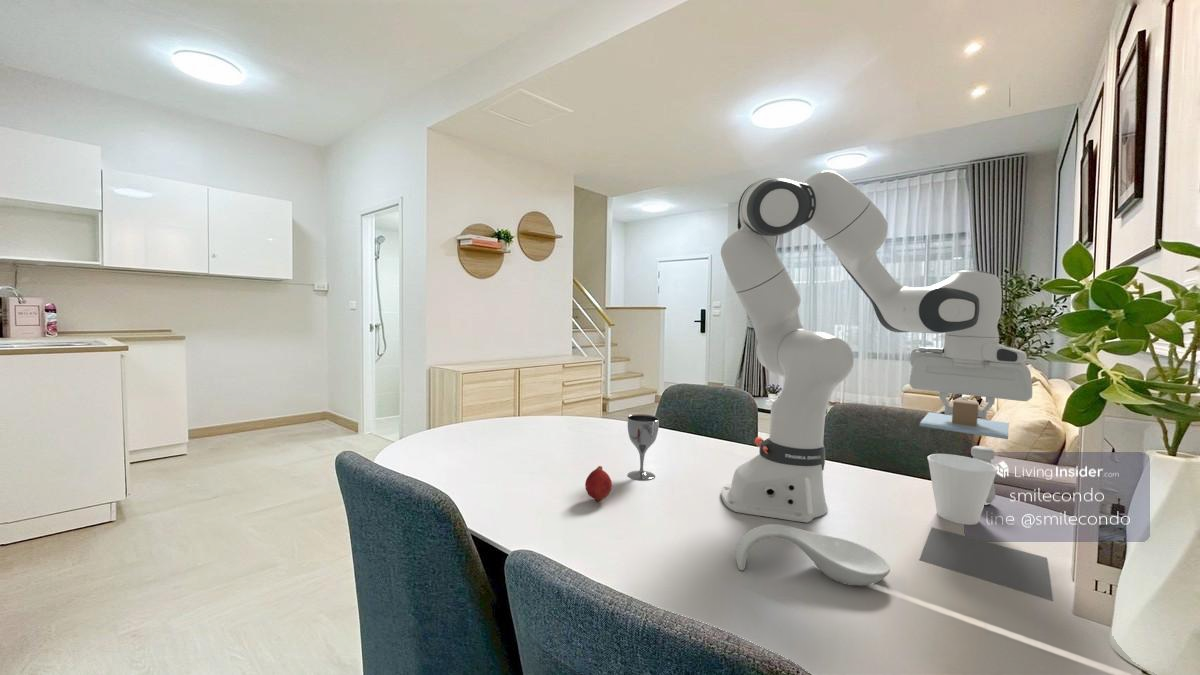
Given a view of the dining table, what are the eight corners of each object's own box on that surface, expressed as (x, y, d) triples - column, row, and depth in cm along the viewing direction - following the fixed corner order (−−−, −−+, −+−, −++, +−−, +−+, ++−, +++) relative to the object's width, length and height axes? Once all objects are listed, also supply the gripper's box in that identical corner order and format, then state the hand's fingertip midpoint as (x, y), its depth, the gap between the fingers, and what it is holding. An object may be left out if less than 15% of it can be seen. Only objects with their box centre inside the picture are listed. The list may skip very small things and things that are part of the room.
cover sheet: (1007, 439, 91) (1010, 413, 90) (919, 425, 100) (921, 402, 99) (1008, 425, 101) (1010, 402, 101) (928, 414, 110) (930, 393, 110)
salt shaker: (1000, 508, 108) (1005, 452, 107) (971, 506, 109) (976, 449, 108) (985, 498, 114) (989, 444, 113) (958, 496, 115) (962, 442, 114)
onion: (587, 507, 103) (588, 470, 102) (583, 496, 109) (583, 462, 108) (613, 505, 104) (614, 469, 104) (608, 495, 110) (609, 461, 109)
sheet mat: (1052, 604, 73) (1053, 600, 73) (918, 563, 84) (919, 559, 84) (1046, 561, 85) (1047, 557, 85) (931, 530, 97) (931, 527, 96)
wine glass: (621, 471, 126) (623, 414, 125) (650, 469, 128) (652, 413, 127) (631, 482, 118) (633, 422, 117) (661, 479, 120) (663, 421, 119)
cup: (910, 511, 105) (913, 455, 105) (949, 505, 109) (953, 451, 108) (965, 536, 94) (970, 474, 93) (1007, 528, 98) (1012, 469, 97)
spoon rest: (869, 560, 85) (872, 521, 84) (903, 601, 73) (906, 555, 72) (731, 549, 87) (733, 510, 87) (742, 586, 76) (744, 542, 75)
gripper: (908, 347, 104) (904, 410, 105) (1036, 355, 90) (1030, 427, 91) (913, 345, 108) (908, 406, 109) (1035, 353, 95) (1029, 422, 96)
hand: (965, 416), depth 100 cm, fingers closed on cover sheet, 4 cm apart
